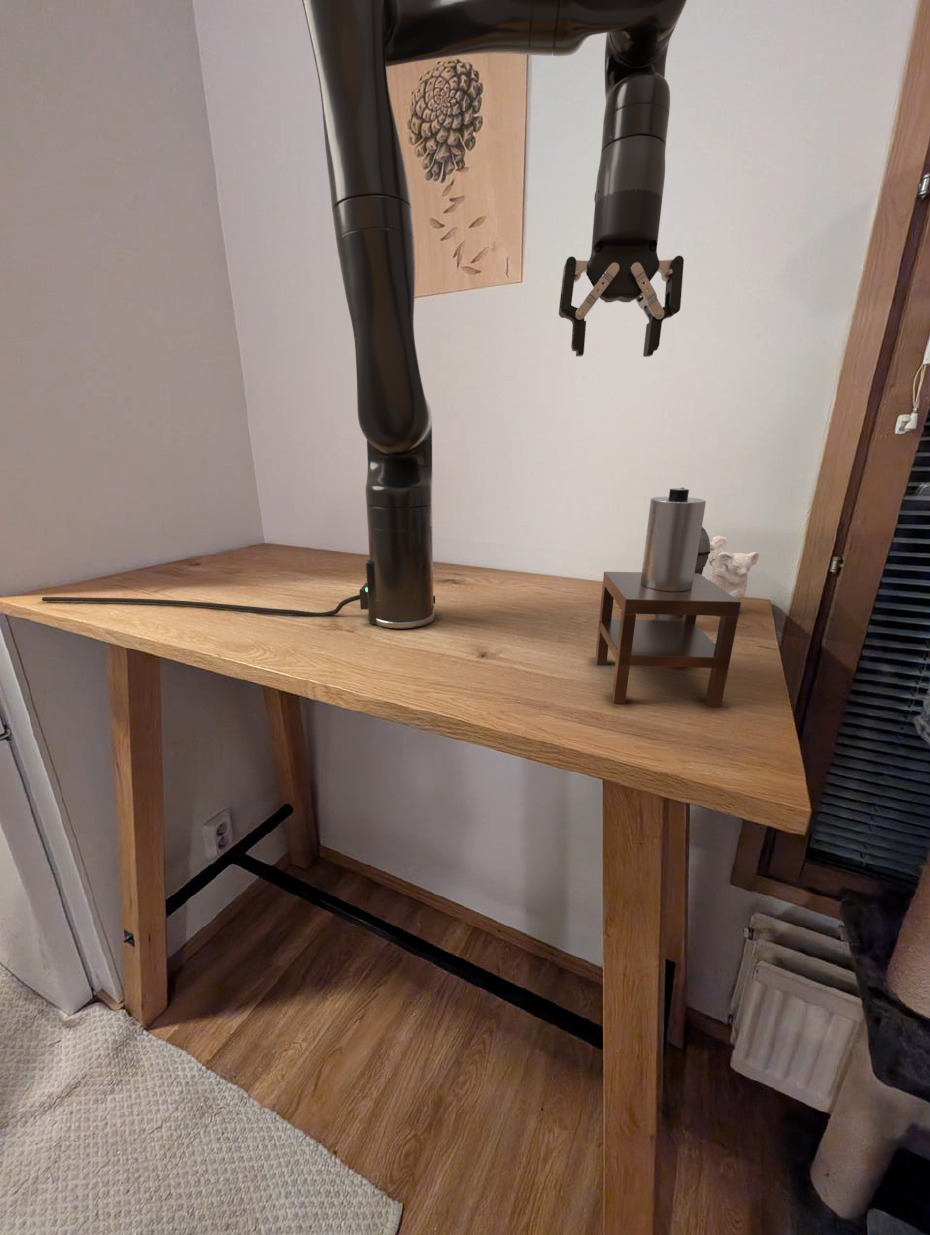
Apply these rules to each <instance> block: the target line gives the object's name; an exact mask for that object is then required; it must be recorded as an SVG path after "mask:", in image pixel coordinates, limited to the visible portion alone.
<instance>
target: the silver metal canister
mask: <svg viewBox="0 0 930 1235" xmlns="http://www.w3.org/2000/svg"><path fill="white" fill-rule="evenodd" d="M689 492H690V489H689V488H684V489H680V488H670V489H669V492H668V493H669V494H668V496H654V497H651V498H650V504H649V511H648V517H647V518H648V519H647V527H646V535H645V544H644V552H643V558H642V567H641V572H642V574H641V584H642V585H643V586H645V587H648V588H651V589H655V590H660V591H669V592H681V591H688V590H690V589H692V586H693V580H694V573H695V567H696V561H697V554H698V548H699V542H700V536H701V529H702V527H703V522H704V515H705V510H706V504H707V501H706V500H705V499H703V498H696V497H689Z"/></svg>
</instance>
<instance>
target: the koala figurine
mask: <svg viewBox="0 0 930 1235" xmlns="http://www.w3.org/2000/svg"><path fill="white" fill-rule="evenodd" d="M727 541H728V538H727V537H726V536H723V535H721V534H720V535H719V534H718V535H716V536H713V537H712V540H711V541H710V554H709V556H708V563H709V565H710V567H711V571H710V572H711V573H710V578H709V581H711V582H712V583H714V584H715V585H717V586H718V587H720V588H721V589H723V590H724V591H726V592H727V593H729V594H730V595H731V596H733V597H734V598H736V599H737V600H739V601H741V600H742V599H743V598H744V597H745V595H746V592H747V587H748V579H749V578H748V573H749V571H750V570H751V567H752V566H754V565H756V564H757V563H758V560H759V557H760V554H759V552H758V551H752V552H749V553H745V552H735V553H733V552H732V553H731V552H728V551H727Z"/></svg>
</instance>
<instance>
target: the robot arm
mask: <svg viewBox="0 0 930 1235" xmlns="http://www.w3.org/2000/svg"><path fill="white" fill-rule="evenodd" d="M687 1H688V0H301V2H302V7H303V11H304V16H305V20H306V24H307V28H308V29H307V30H308V34H309V38H310V39H309V40H310V43H311V49H312V54H313V58H314V63H315V64H314V65H315V67H316V73H317V79H318V84H319V92H320V98H321V108H322V109H321V110H322V124H323V134H324V147H325V155H326V156H325V157H326V165H327V174H328V183H329V191H330V202H331V212H332V220H333V227H334V234H335V242H336V248H337V255H338V259H339V264H340V270H341V271H340V272H341V275H342V284H343V289H344V294H345V300H346V303H347V304H346V305H347V307H348V308H347V309H348V312H349V318H350V321H351V328H352V332H353V333H352V334H353V339H354V352H355V367H356V368H355V370H356V371H355V372H356V395H357V396H356V400H357V403H356V404H357V409H356V410H357V420H358V425H359V428H360V430H361V433H362V434H363V436H364V438H365V440H366V454H367V472H366V473H367V475H366V483H365V503H366V518H367V519H366V520H367V521H366V523H367V537H368V539H367V540H368V554H369V555H368V557H369V558H368V559H366V561H365V573H366V582H365V583H364V584H363V585H362V586H361V587H360V589H359V594H357V595H354V596H350V597H348V598H345V599H344V600H342V601H341V602H339V603H338V605H337V606H336V607H335V608H334V609H332V610H329V611H323V612H315V611H314V612H312V611H305V610H296V609H287V608H286V609H283V608H272V607H260V606H250V605H239V604H229V603H227V604H226V603H216V602H203V601H191V600H190V601H189V600H175V599H161V598H160V599H158V598H157V599H156V598H136V597H135V598H134V597H133V598H132V597H87V596H85V597H83V596H79V597H78V596H42V597H41V601H42V602H63V603H64V602H65V603H66V602H68V603H69V602H71V603H72V602H77V603H78V602H79V603H85V602H86V603H123V604H124V603H127V604H128V603H129V604H153V605H154V604H155V605H156V604H157V605H172V606H188V607H200V608H201V607H202V608H211V609H212V608H213V609H225V610H234V611H235V610H236V611H246V612H256V613H257V612H258V613H266V614H276V615H277V614H278V615H292V616H302V617H313V618H314V617H320V618H321V617H331V616H334V615H337V614H338V613H339V612H340V611H341V610H342V609H343V607H345V606H346V605H347V604H350V603H353V602H355V601H359V604H360V605H359V606H360V610H368V624H369V625H376V626H380V627H383V628H387V629H401V630H403V629H413V628H419V627H423V626H426V625H428V624H430V623H432V622H433V621H434V620H435V610H434V609H435V605H436V596H435V595H434V543H433V542H434V540H433V539H434V538H433V536H434V533H433V532H434V530H433V419H432V418H433V417H432V410H431V407H430V404H429V402H428V400H427V398H426V395H425V391H424V390H425V389H424V387H423V381H422V377H421V369H420V365H419V360H418V353H417V346H416V340H415V328H414V327H415V325H414V324H415V321H414V320H415V300H416V274H417V273H416V244H415V234H414V222H413V221H414V220H413V211H412V203H411V202H412V201H411V195H410V187H409V181H408V176H407V170H406V163H405V158H404V155H403V149H402V146H401V141H400V135H399V131H398V127H397V123H396V118H395V114H394V109H393V105H392V100H391V93H390V89H389V88H390V87H389V79H388V73H387V72H388V70H387V68H389V67H395V66H400V65H405V64H410V63H416V62H423V61H430V60H438V59H443V58H451V57H452V58H453V57H458V56H469V55H471V56H472V55H485V54H486V55H487V54H489V55H490V54H505V55H506V54H507V55H509V54H511V55H513V54H514V55H523V56H524V55H527V56H544V57H545V56H547V57H552V56H553V57H568V56H572V55H574V54H576V53H577V52H578V51H579V50H580V48H581V47H582V46H583V44H584V42H585V41H586V40H587V39H588V38H589V37H592V36H596V35H602V34H606V36H605V47H604V48H605V49H604V95H605V96H604V98H605V107H604V114H603V124H602V136H601V147H600V148H601V150H600V158H599V166H598V171H597V177H596V183H595V184H596V185H595V187H596V188H595V192H594V199H593V200H594V213H593V224H592V225H593V226H592V238H591V253H590V257H589V259H588V260H579V259H578V260H577V258H576V257H574V256H568V257H567V259H566V260H565V264H564V266H563V271H562V278H561V279H562V280H561V289H560V298H559V307H558V316H559V318H561V319H566V320H568V321H570V322H571V324H572V329H571V330H572V331H571V344H570V348H571V351H572V352H575V357H583V356H584V353H585V343H586V342H585V341H586V331H587V329H586V328H587V320H585V317H587V314H588V313H589V312H590V311H591V309H592V308H593V307H594V305H595V304H596V302H597V301H598V300H599V299H600V300H601V301H604V303H614V302H616V301H618V302H621V303H631V302H633V301H636V303H637V305H638V307H639V308H640V309H641V310H642V311H643V312H644V313H643V314H644V315H645V316H646V319H648V323H647V324H646V326H645V336H644V344H643V354H642V355H643V357H644V358H647V357H648V358H649V357H652V356H653V355H654V352H656V351H657V350H658V349H659V346H660V343H661V342H660V341H661V335H662V334H661V333H662V324H663V322H664V320H666V319H669V318H672V317H673V316H674V315H676V314H678V313H679V312H680V310H681V306H682V305H681V304H682V292H683V291H682V290H683V278H684V266H685V265H684V263H685V258H684V257H683V256H682V255H676V256H675V257H674V258H670V259H659V257H658V256H659V255H658V243H659V242H658V241H659V233H660V224H661V214H662V204H663V197H664V188H665V179H666V178H665V177H666V147H667V140H668V129H669V121H670V111H671V110H670V109H671V90H670V84H669V83H668V81H667V79H666V78H665V77H666V63H667V57H668V50H669V45H670V41H671V38H672V35H673V33H674V31H675V29H676V27H677V24H678V21H679V20H680V18H681V15H682V13H683V11H684V9H685V6H686V4H687ZM657 272H658V273H660V276H661V280H662V281H663V282H665V293H664V306H662V305H661V302H660V301H659V299H658V296H657V293H656V290H655V288H654V287H653V285H652V284H651V281H652V279H653V278H654V277H655V275H656V274H657ZM583 273H585V274H586V276H587V278H588V280H589V282H590V284H591V285H592V287H593V288H592V289H591V290H590V292H589V293H588V294H587V296H586V297H585V299H584V300H583V302H582V303H581V304H580V306H578V307H576V306H574V305H572V302H573V294H574V286H575V283H577V282H578V281H580V279H581V277H582V274H583Z"/></svg>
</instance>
